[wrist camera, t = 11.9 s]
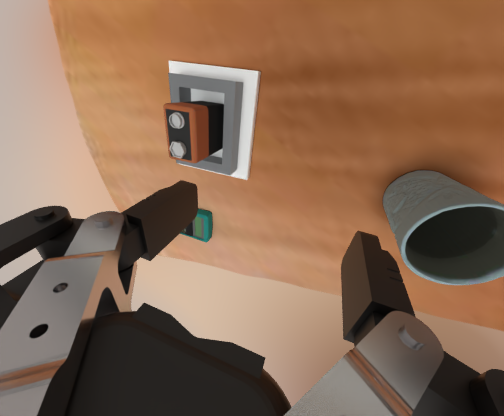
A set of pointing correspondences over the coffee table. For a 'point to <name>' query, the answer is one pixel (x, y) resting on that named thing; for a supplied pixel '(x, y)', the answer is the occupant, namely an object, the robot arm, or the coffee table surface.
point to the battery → (194, 129)
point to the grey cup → (446, 228)
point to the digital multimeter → (200, 226)
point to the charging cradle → (235, 110)
